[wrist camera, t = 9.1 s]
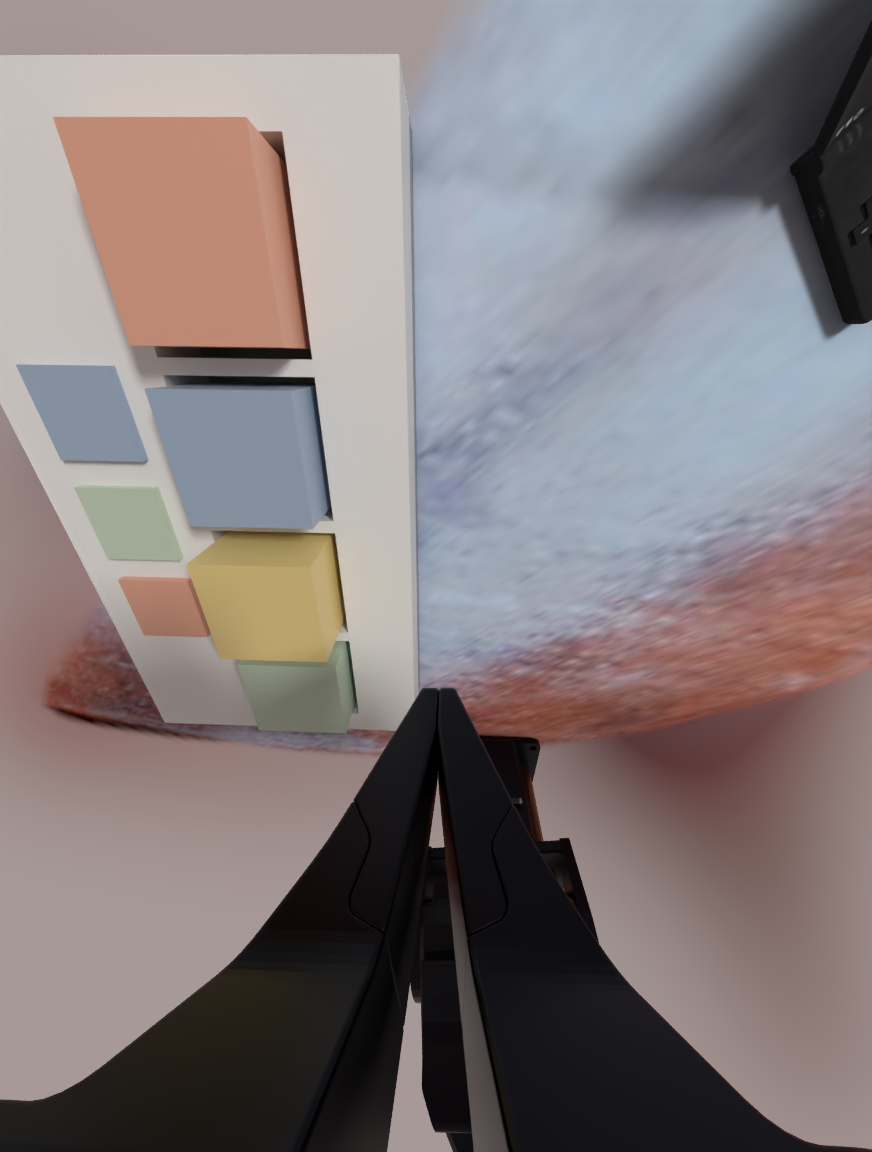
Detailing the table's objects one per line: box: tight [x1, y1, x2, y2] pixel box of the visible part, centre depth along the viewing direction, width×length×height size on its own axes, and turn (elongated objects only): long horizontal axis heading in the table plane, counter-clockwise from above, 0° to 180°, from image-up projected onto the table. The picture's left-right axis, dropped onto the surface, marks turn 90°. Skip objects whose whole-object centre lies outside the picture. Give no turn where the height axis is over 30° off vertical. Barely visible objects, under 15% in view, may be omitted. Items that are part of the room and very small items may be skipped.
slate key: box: [144, 382, 331, 529], centre depth 14 cm, size 4×4×4 cm
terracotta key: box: [53, 117, 311, 349], centre depth 11 cm, size 4×4×4 cm
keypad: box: [0, 54, 420, 731], centre depth 16 cm, size 24×14×4 cm, turn 179°
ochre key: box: [186, 531, 346, 662], centre depth 16 cm, size 4×4×4 cm
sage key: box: [237, 641, 356, 733], centre depth 19 cm, size 4×4×4 cm
